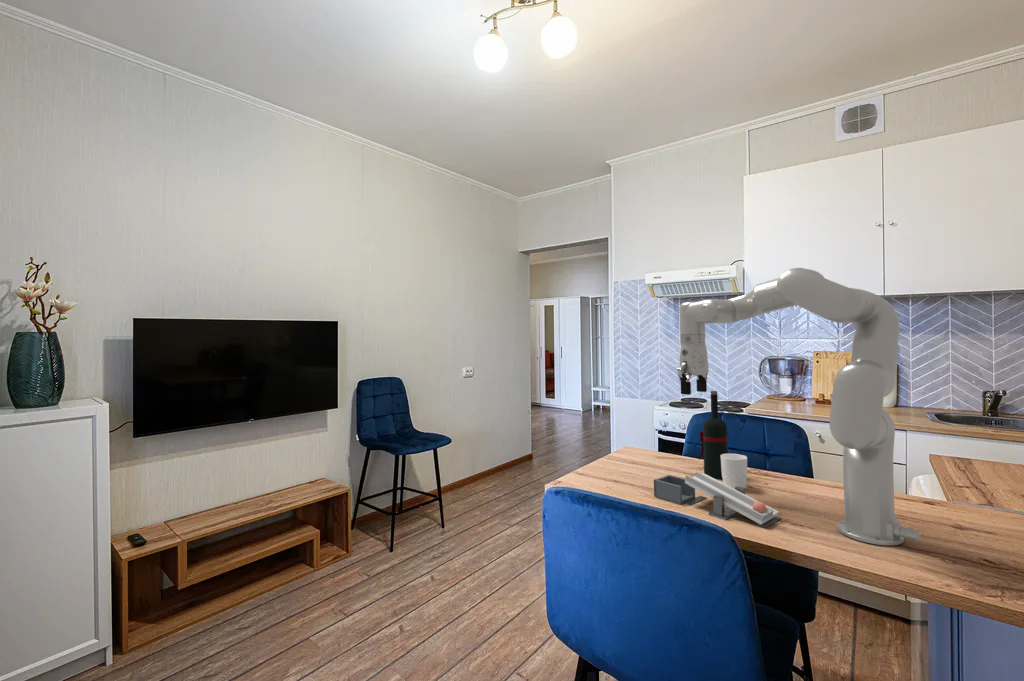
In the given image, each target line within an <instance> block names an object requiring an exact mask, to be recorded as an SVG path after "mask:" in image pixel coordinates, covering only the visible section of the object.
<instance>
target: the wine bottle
mask: <svg viewBox="0 0 1024 681" xmlns="http://www.w3.org/2000/svg"><path fill="white" fill-rule="evenodd" d="M718 396H719V395H718V390H710V415H711V416H710V417H709V418H707V419H706V420H705V421H704V422H703V424H702V428H703V429H702V430H703V431H701V430H700V432H699V440H700V441H699V442H701V446H700V456H699V458H698V460H700V461H702V457H703V473H704V474H706V475H708V476H710V477H712V478H714V479H716V480H723V478H722V471H721V457H720V455H722V454H729V452H728V449H729V448H728V426H727V424H726V422H725V421H724V420H723V419H721V418H719V401H718Z"/></svg>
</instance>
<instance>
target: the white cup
mask: <svg viewBox="0 0 1024 681" xmlns="http://www.w3.org/2000/svg"><path fill="white" fill-rule="evenodd" d="M720 457H721V471H722V478H723V479H722V483H724V484H726V485H728V486H730V487H732V488H734V489H735V487H736V486H738V487H742V488H745V490H746V489H747V479H748V457H747V455H743V454H739V453H728V454H722V455H720Z"/></svg>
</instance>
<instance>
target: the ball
mask: <svg viewBox="0 0 1024 681" xmlns="http://www.w3.org/2000/svg"><path fill="white" fill-rule="evenodd" d="M765 505H766V504H765V503H763V502H762V501H759V500H757V502H755V503H754V504H753V510H755V511H757V512H759V513H761V514H762V513H764V512H766V506H765Z"/></svg>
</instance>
